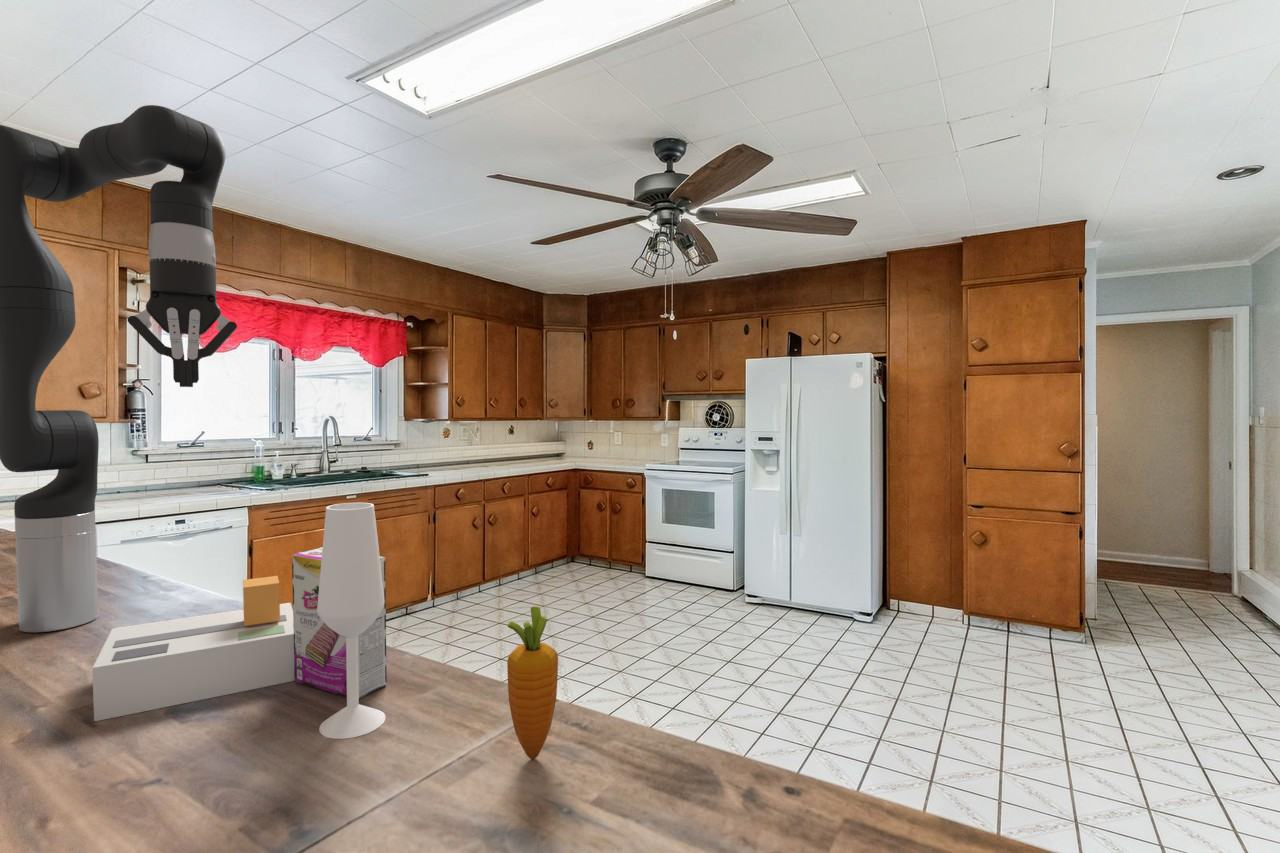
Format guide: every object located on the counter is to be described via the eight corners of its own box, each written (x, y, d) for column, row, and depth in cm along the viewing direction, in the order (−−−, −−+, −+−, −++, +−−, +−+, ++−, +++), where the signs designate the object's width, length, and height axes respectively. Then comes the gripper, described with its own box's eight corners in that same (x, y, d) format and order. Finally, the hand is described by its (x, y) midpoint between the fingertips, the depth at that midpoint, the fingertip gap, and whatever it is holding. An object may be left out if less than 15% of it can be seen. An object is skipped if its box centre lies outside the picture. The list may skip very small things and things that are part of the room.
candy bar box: (291, 684, 80) (288, 553, 79) (325, 668, 84) (324, 545, 84) (356, 702, 75) (354, 564, 74) (389, 685, 80) (387, 555, 79)
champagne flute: (334, 746, 66) (330, 514, 65) (309, 723, 70) (305, 506, 69) (396, 722, 71) (394, 506, 70) (369, 702, 75) (367, 499, 74)
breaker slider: (243, 617, 85) (242, 579, 85) (278, 611, 87) (277, 575, 87) (244, 626, 82) (243, 587, 82) (280, 620, 84) (279, 582, 84)
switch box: (114, 674, 82) (112, 627, 82) (291, 643, 93) (290, 601, 93) (94, 721, 70) (92, 667, 70) (299, 679, 81) (299, 632, 81)
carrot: (535, 779, 60) (535, 622, 60) (496, 763, 63) (496, 612, 62) (568, 755, 64) (568, 608, 64) (530, 740, 67) (530, 599, 66)
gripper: (239, 271, 96) (241, 387, 96) (126, 260, 89) (129, 386, 89) (239, 263, 89) (242, 387, 90) (118, 250, 82) (122, 385, 83)
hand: (186, 386), depth 90 cm, fingers closed
